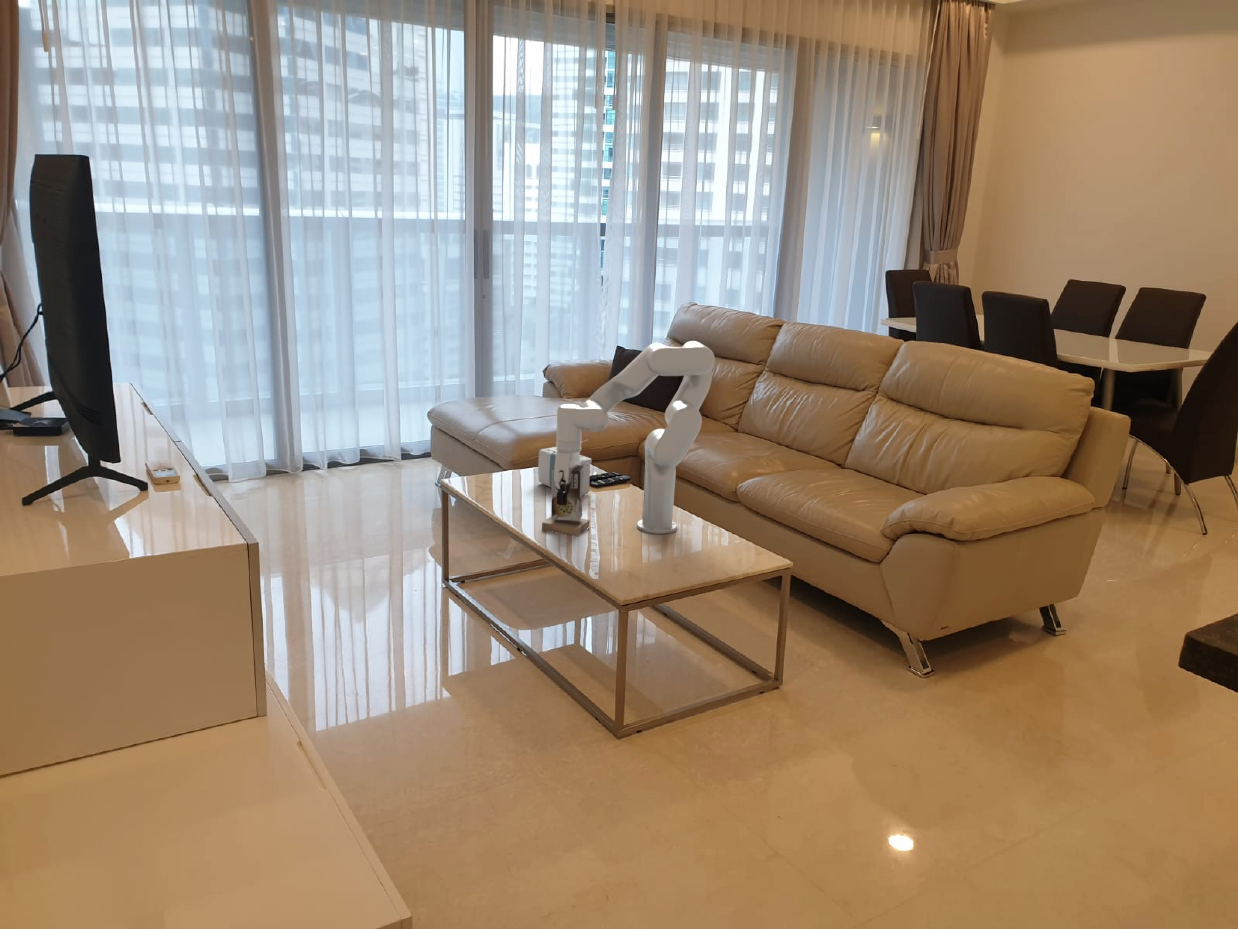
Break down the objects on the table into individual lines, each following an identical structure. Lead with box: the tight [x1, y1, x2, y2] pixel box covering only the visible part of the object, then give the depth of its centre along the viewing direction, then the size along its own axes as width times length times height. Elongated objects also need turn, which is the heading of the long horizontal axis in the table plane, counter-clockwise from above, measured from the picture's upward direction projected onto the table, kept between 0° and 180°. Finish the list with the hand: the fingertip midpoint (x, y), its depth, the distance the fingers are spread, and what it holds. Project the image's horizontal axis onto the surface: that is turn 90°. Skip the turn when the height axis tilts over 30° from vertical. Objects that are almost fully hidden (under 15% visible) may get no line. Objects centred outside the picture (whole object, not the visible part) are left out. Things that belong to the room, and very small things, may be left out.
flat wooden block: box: [541, 516, 590, 537], centre depth 280 cm, size 9×12×2 cm
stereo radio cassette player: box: [537, 438, 593, 496], centre depth 317 cm, size 21×8×20 cm, turn 42°
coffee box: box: [550, 465, 584, 521], centre depth 277 cm, size 9×6×16 cm
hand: (567, 500), depth 278 cm, fingers closed on coffee box, 7 cm apart
